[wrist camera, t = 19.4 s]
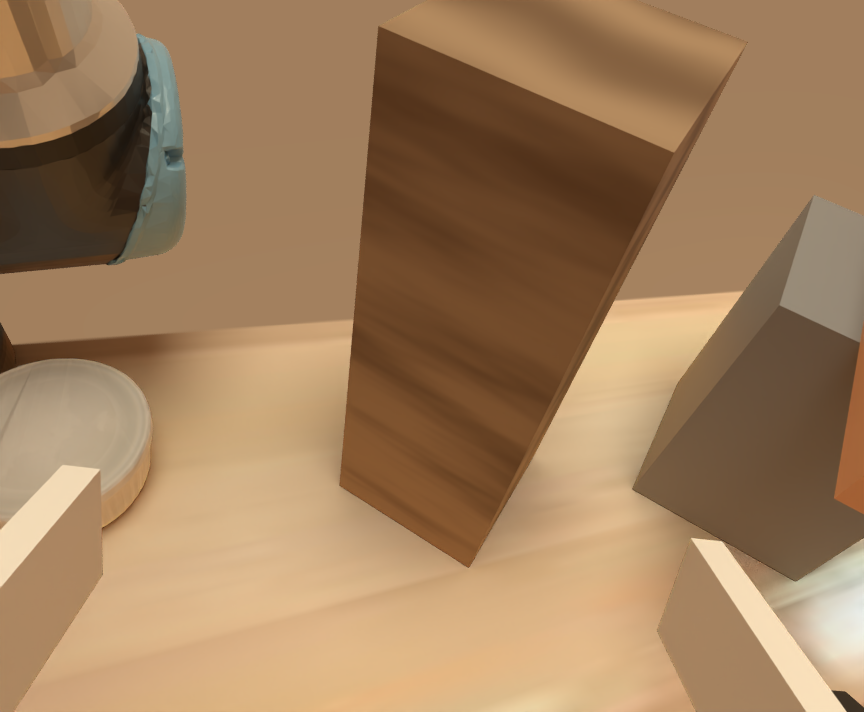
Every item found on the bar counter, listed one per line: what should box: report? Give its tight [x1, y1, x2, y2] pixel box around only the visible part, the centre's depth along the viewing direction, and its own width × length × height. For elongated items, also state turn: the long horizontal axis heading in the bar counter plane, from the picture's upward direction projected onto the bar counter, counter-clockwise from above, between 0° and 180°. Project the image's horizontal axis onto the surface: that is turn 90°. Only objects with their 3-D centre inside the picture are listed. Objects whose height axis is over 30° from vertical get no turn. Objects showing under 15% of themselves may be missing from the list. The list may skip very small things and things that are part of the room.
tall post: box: [340, 0, 748, 568], centre depth 34 cm, size 10×10×30 cm
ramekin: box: [0, 358, 153, 530], centre depth 39 cm, size 11×11×5 cm
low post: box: [633, 195, 864, 581], centre depth 42 cm, size 12×12×19 cm
